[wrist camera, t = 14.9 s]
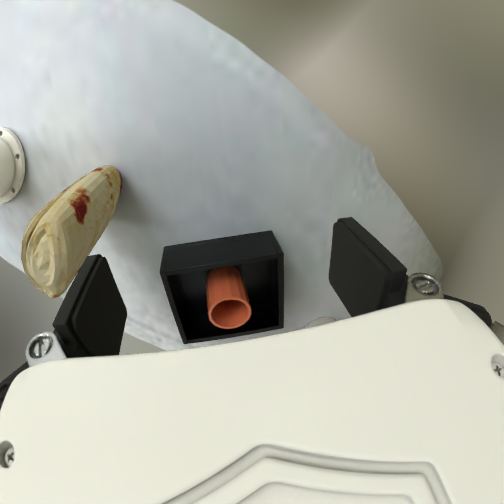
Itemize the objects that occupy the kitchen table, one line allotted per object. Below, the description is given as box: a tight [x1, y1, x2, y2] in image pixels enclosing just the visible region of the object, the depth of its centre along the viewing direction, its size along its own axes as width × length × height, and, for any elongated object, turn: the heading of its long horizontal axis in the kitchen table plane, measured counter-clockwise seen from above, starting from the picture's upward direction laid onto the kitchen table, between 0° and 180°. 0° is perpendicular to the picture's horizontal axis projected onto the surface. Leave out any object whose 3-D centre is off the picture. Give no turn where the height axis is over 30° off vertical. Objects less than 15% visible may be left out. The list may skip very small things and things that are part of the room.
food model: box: [21, 165, 122, 298], centre depth 26 cm, size 10×7×20 cm
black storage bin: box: [160, 231, 284, 344], centre depth 43 cm, size 17×15×7 cm
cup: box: [206, 266, 251, 329], centre depth 42 cm, size 6×6×8 cm
